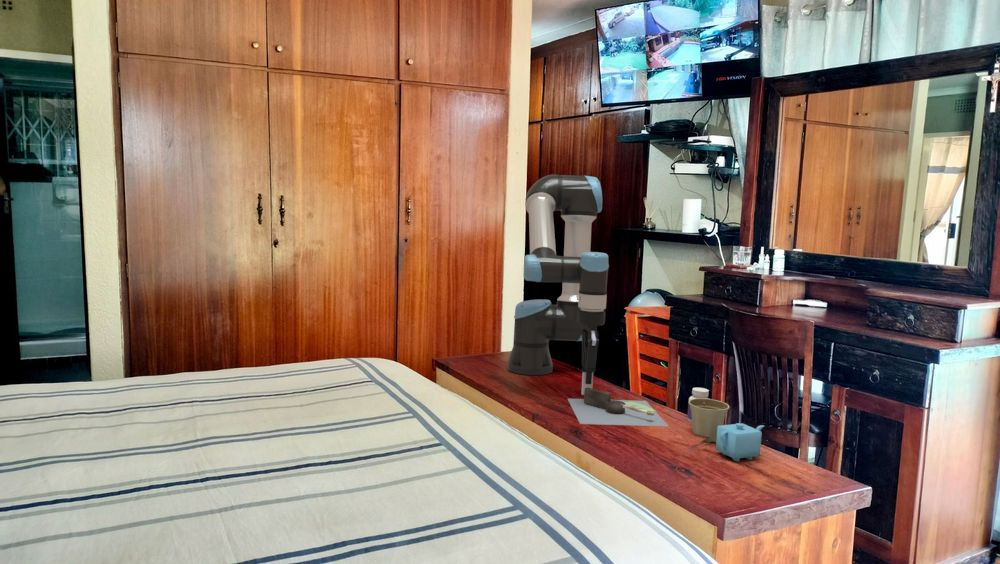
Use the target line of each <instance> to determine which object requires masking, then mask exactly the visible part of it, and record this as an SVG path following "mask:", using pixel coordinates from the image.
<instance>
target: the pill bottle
mask: <svg viewBox="0 0 1000 564" xmlns="http://www.w3.org/2000/svg"><path fill="white" fill-rule="evenodd" d="M709 391H710V390H709V389H707V388H704V387H693V388H692V390H691V394H692V395H691V396H689V397H688V401H689V400H691V399H697V398H705V399H710V398H709ZM687 404H688V405H687V418H686V421H687V422H688V423H690V424H692V414H691V409H690V405H689V402H688V403H687Z"/></svg>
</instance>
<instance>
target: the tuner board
mask: <svg viewBox="0 0 1000 564" xmlns="http://www.w3.org/2000/svg"><path fill="white" fill-rule="evenodd" d="M615 400H616V401H622V402H624V403H625V405H627V406H631V407H635V408H638V409H642V410H646V411H653V412H654V416H653V415H647V414H645V413H641V412H637V411H633V410H630V409H626V408H625V412H624V413H611V412H608V411H606V409H605V408H601V407H597V406H594V405H590V404H586V403H584V398H567V401H568V403H569V405H570V407H571V409H572V411H573V412H574V415H575V417H576V419H577V420H578V422H579V425H595V426H596V425H598V426H599V425H600V426H602V425H604V426H608V425H609V426H635V427H637V426H638V427H641V426H643V427H670V426H669V425H668V423H667V422H665V420H664V419H663V418H662V417H661V416H660V415H659V414H658V412H657V411H656V410H655V409H654V408H653V407H652V405H650V404H649V402H648V401H647V400H631V399H630V400H628V399H627V400H626V399H615Z"/></svg>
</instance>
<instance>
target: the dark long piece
mask: <svg viewBox="0 0 1000 564" xmlns="http://www.w3.org/2000/svg"><path fill="white" fill-rule="evenodd" d="M583 399H584V403H586V404H590V405H594V406H597V407H601V408H605V409H606V411H608V412H611V413H624V412H625V408H626V409H630V410H633V411H637V412H641V413H645V414H647V415H653V416H654V412H653V411H646V410H642V409H638V408H635V407H631V406H627V405H625V403H624V402H622V401H616V400H617V399H612V393H611V392H608V391H607V392H606V391H603V390H600V389H599V390H598V389H596V388H593V389H592V388H585V392H584V395H583Z"/></svg>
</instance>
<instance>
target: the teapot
mask: <svg viewBox="0 0 1000 564" xmlns="http://www.w3.org/2000/svg"><path fill="white" fill-rule="evenodd" d="M764 427H765V425H763V424H761V425H757V427H756V428H755V427H752V426H749V425H748V424H745V423H743V422H742V423H741V422H738V423H737V422H736V423H734V424H733V423H732V424H723V425H721V426H718V427H717V440H716V442H715V450H717V451H718V452H720V453H721V455H723V456H728V457H730V458H731V459H732V461H733V462H740V460H741V459H744V458H745V459H747V460H750V461H751V460H753V459H754V458H753V457H760V456H761V449H762V448H761V447H762V436H763V435H762V429H763V428H764Z"/></svg>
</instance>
